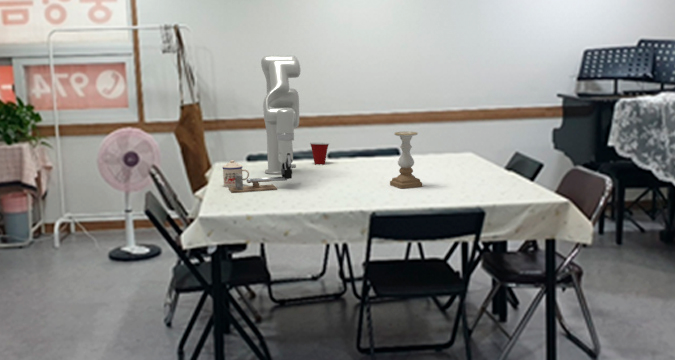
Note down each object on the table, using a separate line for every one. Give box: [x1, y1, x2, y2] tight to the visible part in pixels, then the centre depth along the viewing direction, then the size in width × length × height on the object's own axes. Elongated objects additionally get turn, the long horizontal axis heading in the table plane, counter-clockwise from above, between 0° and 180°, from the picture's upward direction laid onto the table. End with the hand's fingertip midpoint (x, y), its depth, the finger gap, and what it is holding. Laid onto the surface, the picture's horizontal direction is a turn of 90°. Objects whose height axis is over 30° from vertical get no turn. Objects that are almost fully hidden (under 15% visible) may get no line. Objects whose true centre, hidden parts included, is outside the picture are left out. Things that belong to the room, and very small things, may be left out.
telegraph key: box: [228, 174, 278, 194], centre depth 299 cm, size 20×10×7 cm, turn 107°
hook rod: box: [246, 168, 293, 184], centre depth 301 cm, size 21×5×5 cm, turn 107°
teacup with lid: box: [222, 159, 250, 188], centre depth 310 cm, size 12×9×12 cm
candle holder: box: [389, 131, 423, 190], centre depth 300 cm, size 11×11×24 cm
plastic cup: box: [309, 142, 330, 165], centre depth 372 cm, size 11×11×12 cm
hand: (286, 177), depth 304 cm, fingers closed on hook rod, 5 cm apart
